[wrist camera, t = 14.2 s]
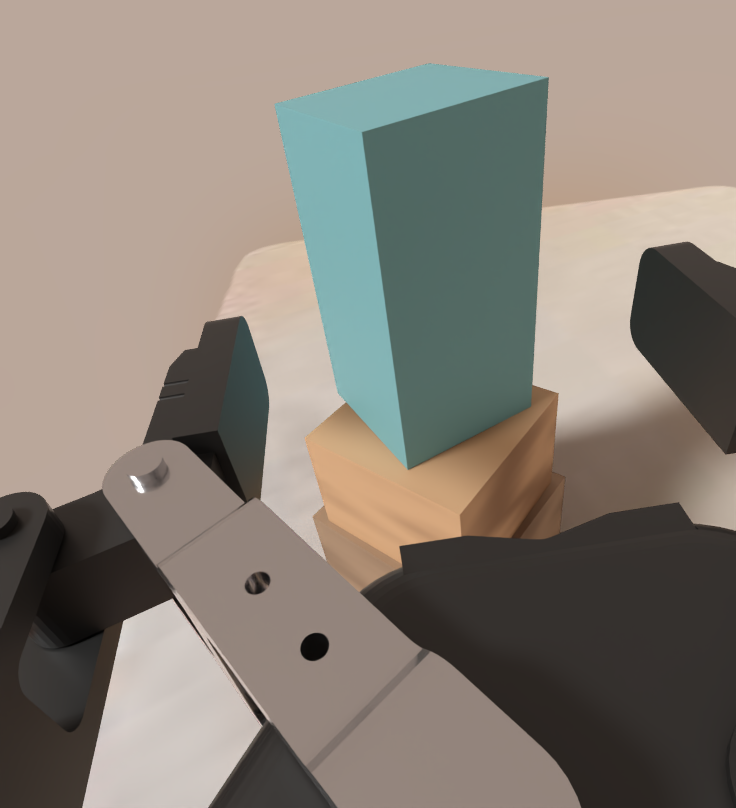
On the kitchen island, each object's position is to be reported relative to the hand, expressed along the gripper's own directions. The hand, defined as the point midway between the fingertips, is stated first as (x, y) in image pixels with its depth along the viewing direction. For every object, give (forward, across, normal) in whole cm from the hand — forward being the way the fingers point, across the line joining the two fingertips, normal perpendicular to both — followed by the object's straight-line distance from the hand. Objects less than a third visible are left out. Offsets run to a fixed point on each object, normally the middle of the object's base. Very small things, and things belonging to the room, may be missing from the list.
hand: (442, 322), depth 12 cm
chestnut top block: (+6, 0, +13) cm, 15 cm away
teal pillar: (+8, 0, +8) cm, 11 cm away
